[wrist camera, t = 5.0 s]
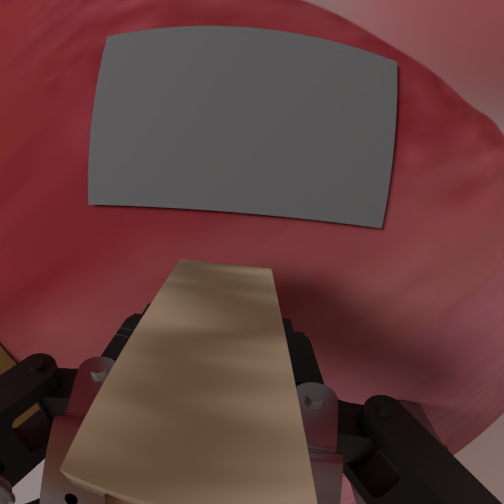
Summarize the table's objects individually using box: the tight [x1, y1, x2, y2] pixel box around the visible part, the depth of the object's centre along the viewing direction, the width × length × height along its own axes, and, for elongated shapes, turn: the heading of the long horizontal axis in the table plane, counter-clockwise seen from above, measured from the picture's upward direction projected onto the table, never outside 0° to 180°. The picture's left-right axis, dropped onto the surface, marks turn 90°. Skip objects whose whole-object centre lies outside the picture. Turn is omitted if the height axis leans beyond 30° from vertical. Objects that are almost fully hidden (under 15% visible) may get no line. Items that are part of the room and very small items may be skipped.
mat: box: [88, 26, 397, 228], centre depth 13 cm, size 18×11×1 cm, turn 84°
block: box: [60, 259, 317, 504], centre depth 8 cm, size 4×4×10 cm
